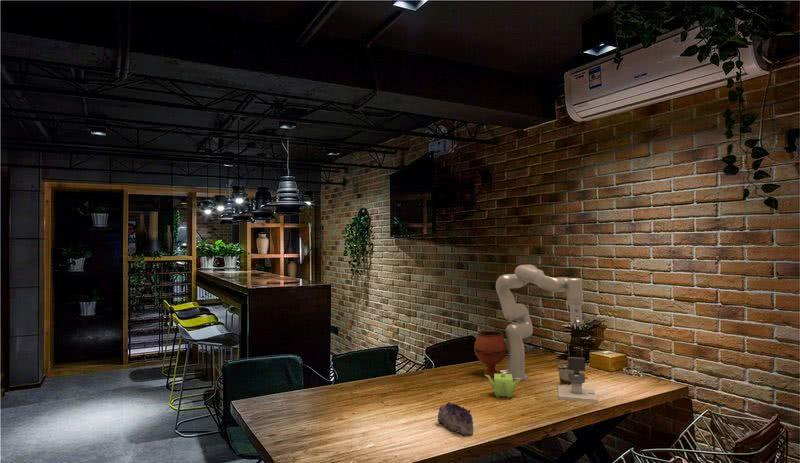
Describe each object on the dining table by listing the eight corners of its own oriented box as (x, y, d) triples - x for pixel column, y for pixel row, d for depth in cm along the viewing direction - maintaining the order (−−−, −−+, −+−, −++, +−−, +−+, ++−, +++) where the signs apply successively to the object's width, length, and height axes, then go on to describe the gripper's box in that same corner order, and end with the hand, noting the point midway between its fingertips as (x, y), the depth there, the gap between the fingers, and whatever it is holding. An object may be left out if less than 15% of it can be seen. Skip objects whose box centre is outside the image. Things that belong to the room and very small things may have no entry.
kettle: (504, 402, 226) (503, 379, 226) (483, 394, 238) (482, 372, 238) (524, 396, 235) (523, 374, 235) (502, 389, 246) (502, 368, 247)
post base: (558, 399, 230) (558, 385, 230) (557, 388, 247) (557, 375, 247) (597, 402, 224) (597, 388, 224) (594, 391, 241) (593, 378, 241)
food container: (577, 382, 259) (577, 364, 259) (580, 385, 253) (580, 366, 253) (555, 381, 260) (554, 363, 260) (557, 384, 254) (557, 366, 254)
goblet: (468, 372, 280) (467, 331, 280) (494, 368, 288) (493, 328, 289) (486, 380, 262) (486, 336, 263) (514, 376, 270) (513, 333, 271)
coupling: (568, 382, 233) (568, 359, 233) (568, 378, 241) (567, 355, 241) (588, 384, 230) (588, 360, 231) (587, 379, 238) (586, 356, 238)
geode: (484, 433, 189) (482, 409, 189) (461, 442, 184) (459, 418, 183) (456, 415, 207) (454, 393, 207) (434, 423, 202) (432, 401, 201)
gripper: (585, 303, 230) (586, 338, 229) (580, 300, 247) (581, 332, 246) (569, 303, 232) (570, 338, 231) (565, 300, 248) (566, 332, 248)
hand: (576, 335), depth 238 cm, fingers open, 9 cm apart
